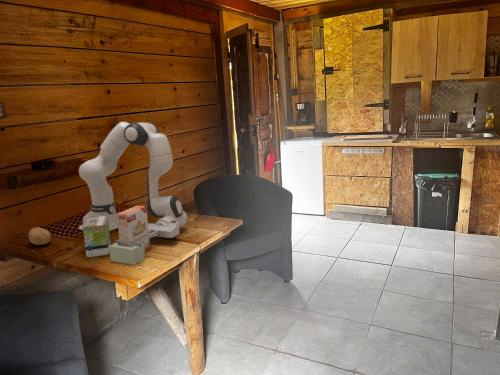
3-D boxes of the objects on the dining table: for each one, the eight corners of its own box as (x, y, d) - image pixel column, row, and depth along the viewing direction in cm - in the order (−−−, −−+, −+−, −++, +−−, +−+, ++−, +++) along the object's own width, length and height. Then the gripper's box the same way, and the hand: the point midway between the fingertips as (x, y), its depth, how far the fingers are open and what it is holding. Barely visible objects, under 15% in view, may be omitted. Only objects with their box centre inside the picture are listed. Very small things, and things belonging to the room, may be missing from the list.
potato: (36, 250, 187) (33, 235, 185) (25, 244, 196) (23, 229, 194) (57, 244, 194) (54, 229, 192) (46, 238, 203) (43, 223, 201)
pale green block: (110, 261, 171) (108, 244, 169) (121, 254, 177) (119, 238, 175) (135, 265, 166) (133, 247, 164) (145, 258, 172) (143, 242, 170)
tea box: (109, 254, 178) (105, 224, 175) (86, 258, 175) (81, 227, 172) (111, 243, 192) (107, 214, 189) (89, 246, 189) (85, 217, 186)
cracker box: (132, 260, 171) (126, 214, 166) (121, 258, 173) (115, 213, 168) (151, 248, 183) (146, 205, 179) (140, 247, 186) (136, 204, 181)
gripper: (147, 218, 198) (128, 227, 186) (181, 222, 190) (164, 231, 178) (148, 230, 200) (130, 240, 187) (182, 234, 192) (165, 244, 179)
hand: (147, 236), depth 183 cm, fingers closed, pressing on cracker box
